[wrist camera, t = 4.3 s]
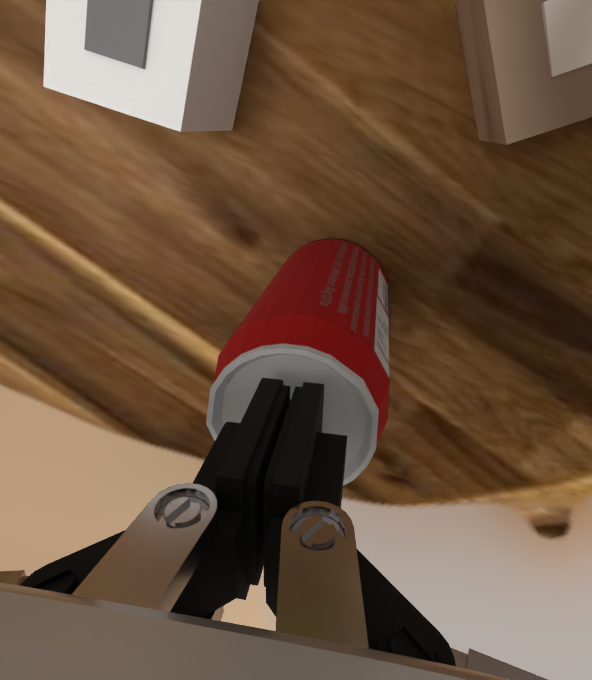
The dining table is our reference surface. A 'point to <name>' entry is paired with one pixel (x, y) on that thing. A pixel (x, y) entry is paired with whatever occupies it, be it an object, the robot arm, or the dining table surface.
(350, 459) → the soda can
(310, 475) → the robot arm
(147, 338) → the dining table surface
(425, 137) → the dining table surface
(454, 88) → the dining table surface
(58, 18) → the white block
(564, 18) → the walnut block
